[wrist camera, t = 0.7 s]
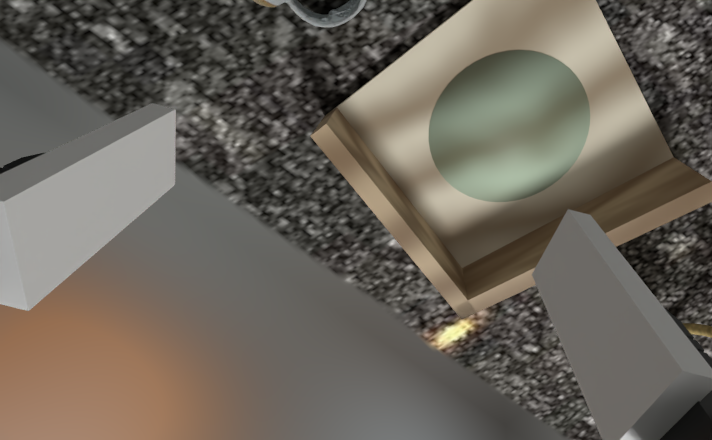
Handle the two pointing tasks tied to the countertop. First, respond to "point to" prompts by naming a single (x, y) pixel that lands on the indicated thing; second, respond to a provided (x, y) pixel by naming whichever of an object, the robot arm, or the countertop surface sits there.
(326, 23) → the ceramic mug
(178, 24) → the countertop surface
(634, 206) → the tray
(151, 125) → the robot arm
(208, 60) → the countertop surface
